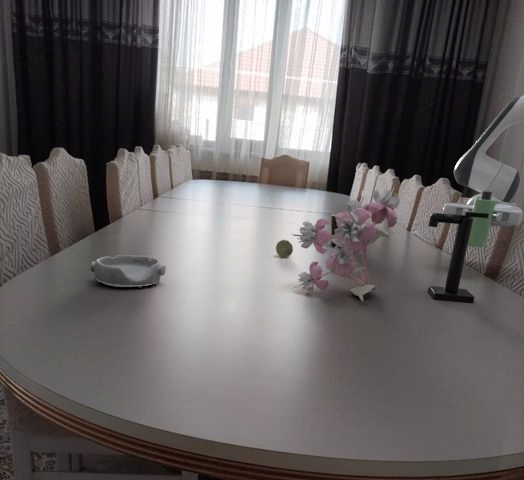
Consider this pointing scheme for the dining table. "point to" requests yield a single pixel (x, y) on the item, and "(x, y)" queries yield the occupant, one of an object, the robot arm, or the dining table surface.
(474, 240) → the soap bottle
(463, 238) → the faucet
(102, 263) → the dish
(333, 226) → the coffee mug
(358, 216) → the flower
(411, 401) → the dining table surface
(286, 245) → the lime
